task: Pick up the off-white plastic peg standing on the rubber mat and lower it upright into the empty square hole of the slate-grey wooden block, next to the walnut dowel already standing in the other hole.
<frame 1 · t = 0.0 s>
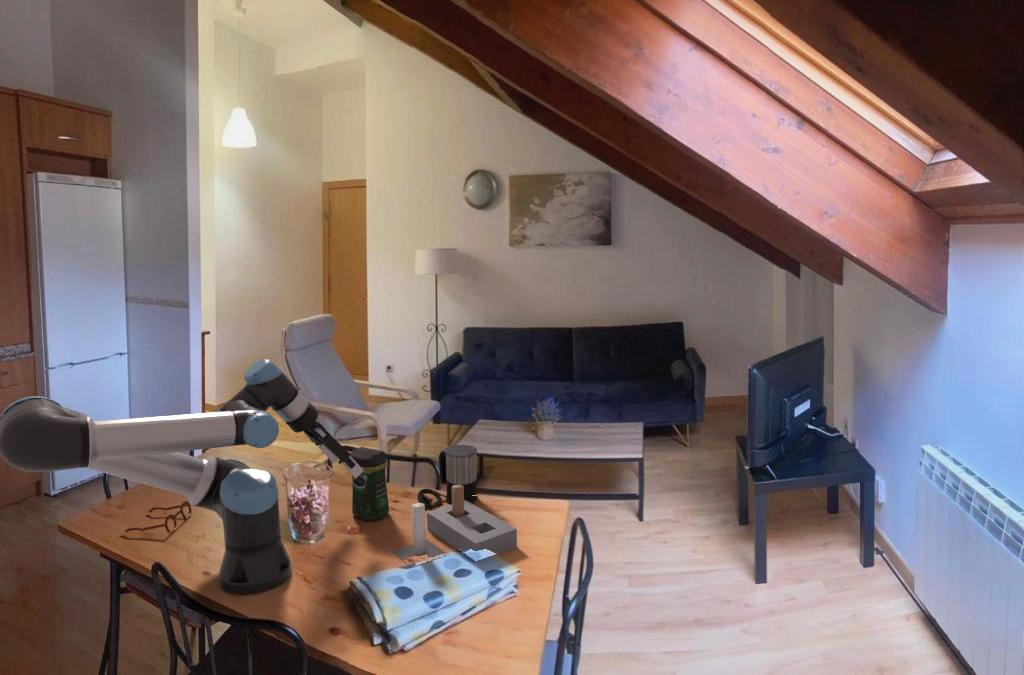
hand: (348, 466, 178), 15 cm above the table, tool tilted 35°, fingers open, 13 cm apart
glasses: (157, 527, 180), on the table
mat: (419, 554, 162), on the table
coffee jar: (371, 515, 185), on the table
peg: (419, 553, 162), resting on mat
block: (470, 539, 170), on the table
milk frother: (448, 502, 193), on the table
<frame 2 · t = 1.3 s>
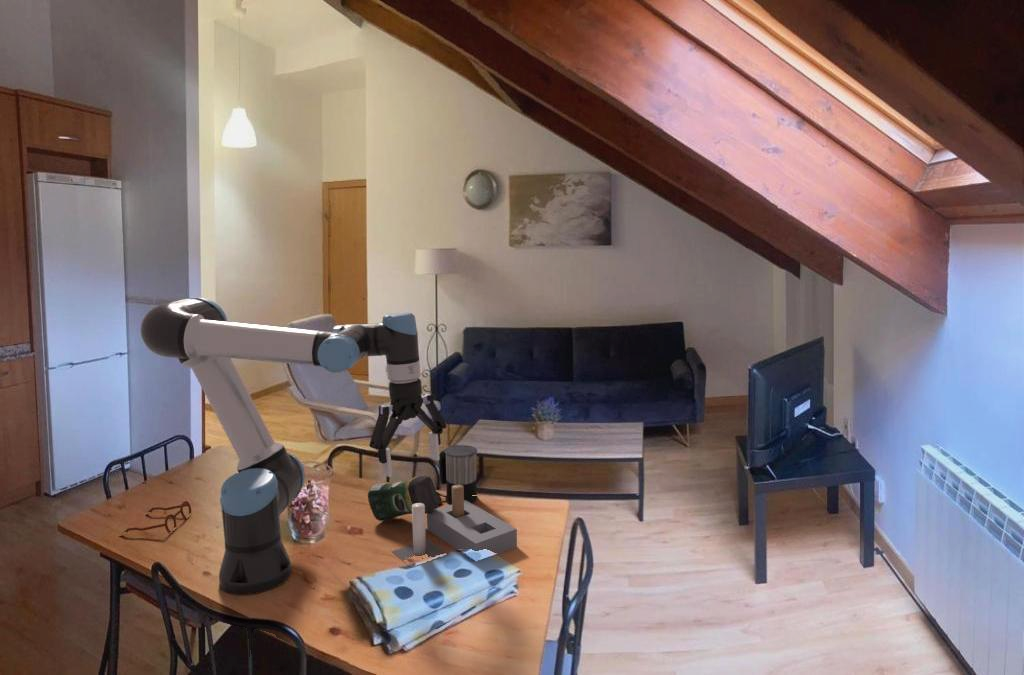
hand: (412, 467, 161), 21 cm above the table, tool pointing down, fingers open, 13 cm apart
coffee jar: (378, 501, 182), point 5 cm above the table, touching block
everything else where it was.
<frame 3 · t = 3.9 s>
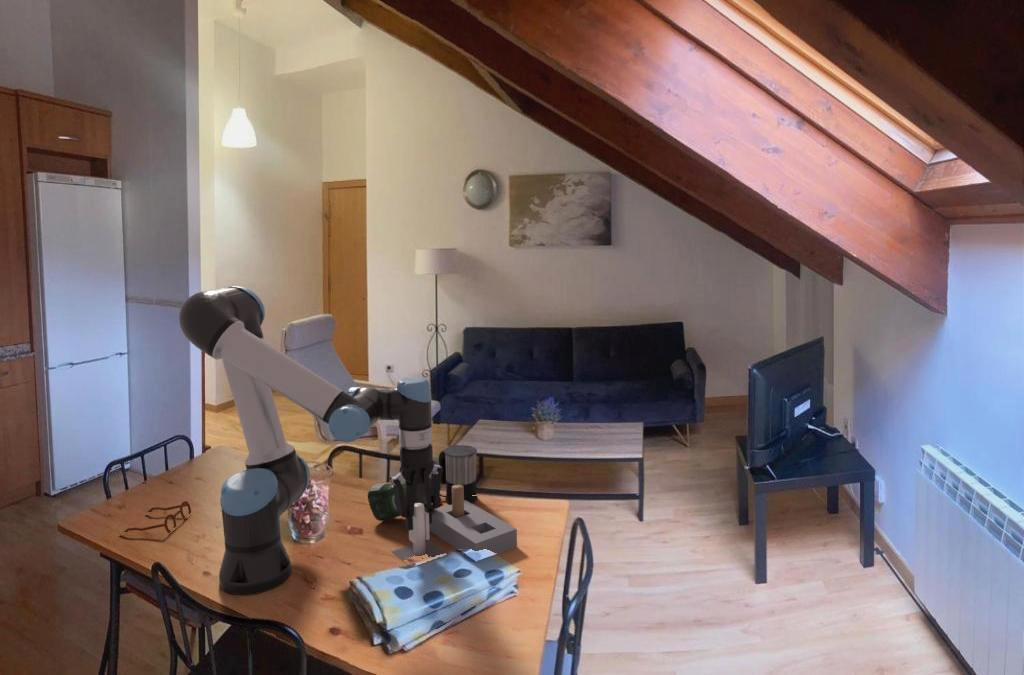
hand: (419, 539, 162), 4 cm above the table, tool pointing down, fingers closed on peg, 3 cm apart
peg: (419, 553, 162), resting on mat, touching gripper
everything else where it was.
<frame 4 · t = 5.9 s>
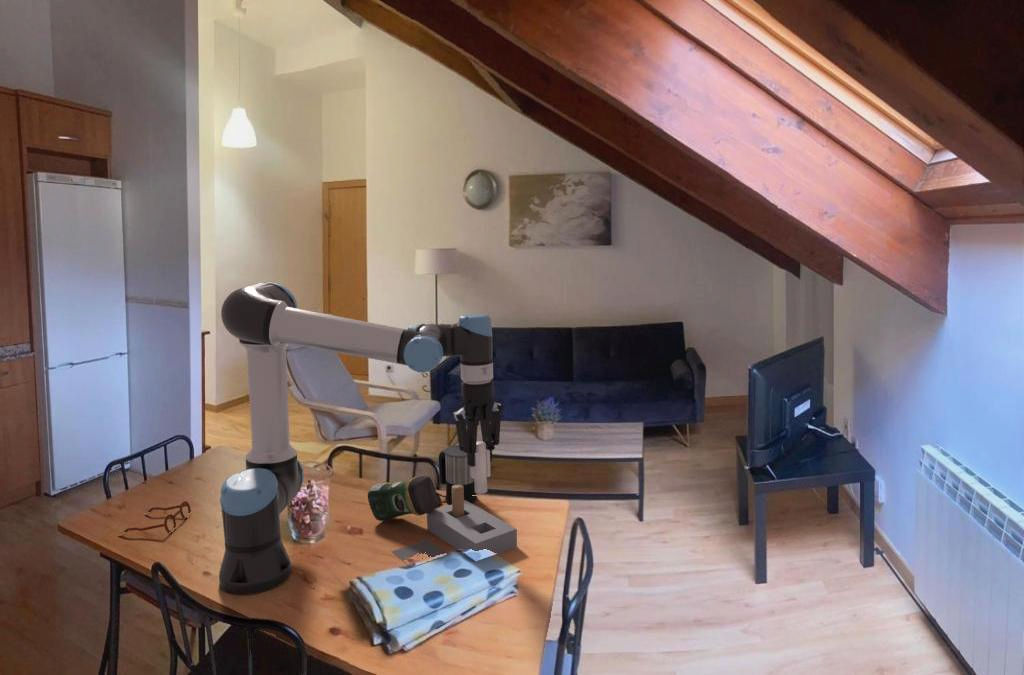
hand: (480, 476, 162), 18 cm above the table, tool pointing down, fingers closed on peg, 2 cm apart
peg: (481, 491, 163), point 14 cm above the table, touching gripper
everything else where it was.
when the fingers open (6 cm above the table, at t = 7.9 s): peg drops 2 cm, resting in block.
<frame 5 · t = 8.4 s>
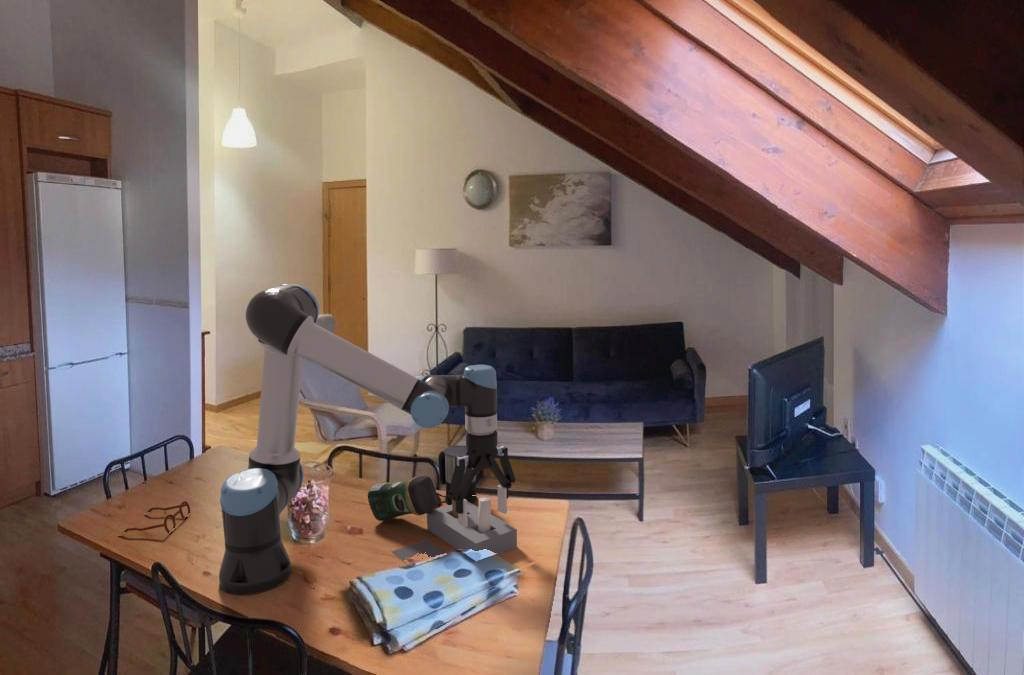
hand: (483, 518, 164), 7 cm above the table, tool pointing down, fingers open, 11 cm apart
peg: (483, 546, 166), resting in block
everything else where it was.
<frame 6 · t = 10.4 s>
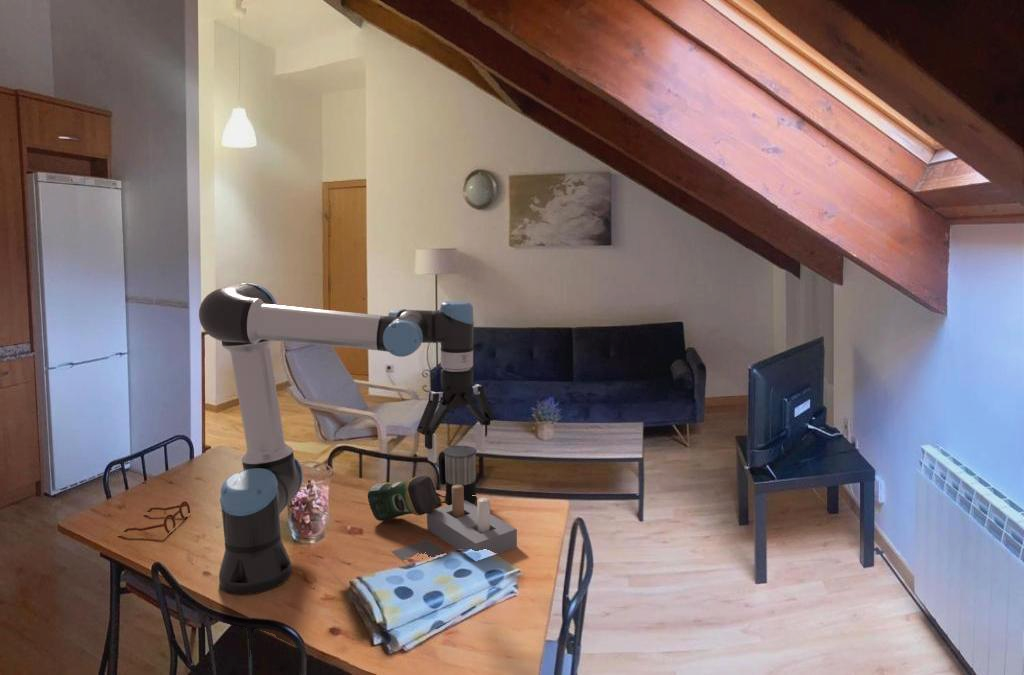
hand: (456, 455, 162), 23 cm above the table, tool pointing down, fingers open, 13 cm apart
nothing on the table moved.
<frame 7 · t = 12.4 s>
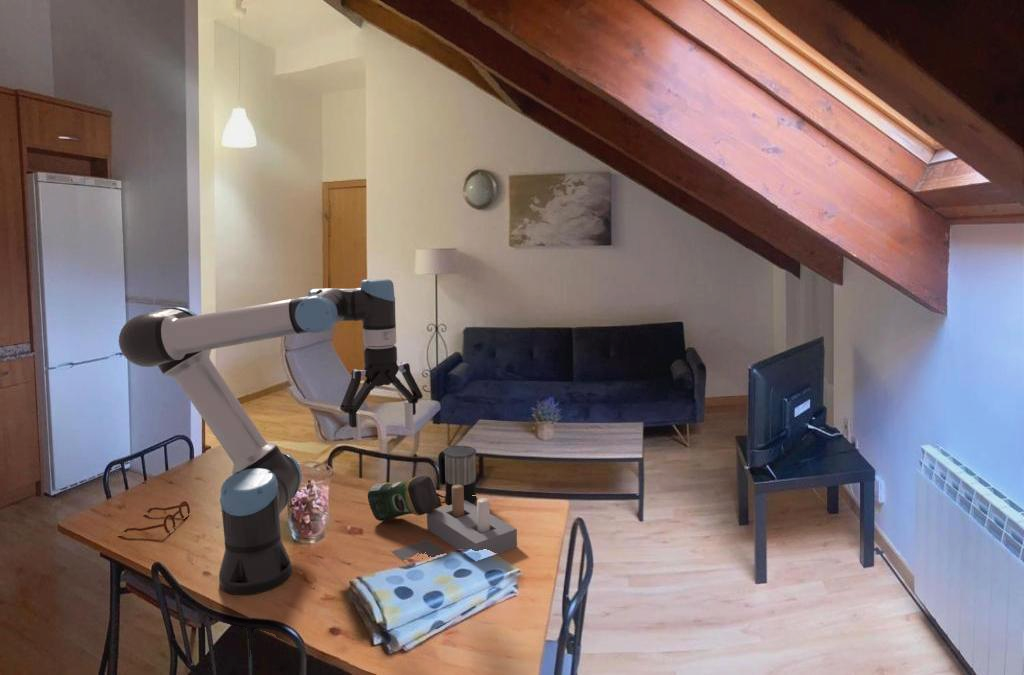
hand: (384, 434, 161), 29 cm above the table, tool pointing down, fingers open, 13 cm apart
nothing on the table moved.
at the end: peg 0.1 cm from the target spot on the block, point 0.0 cm above the block's base; peg tilted 1°; the gripper is holding nothing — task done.
